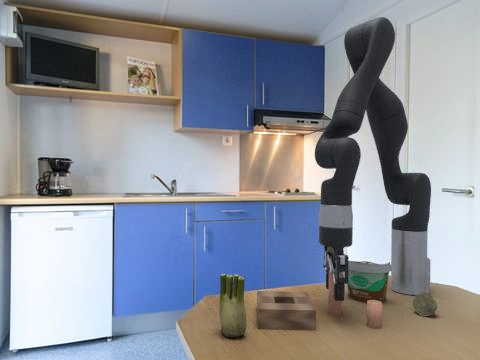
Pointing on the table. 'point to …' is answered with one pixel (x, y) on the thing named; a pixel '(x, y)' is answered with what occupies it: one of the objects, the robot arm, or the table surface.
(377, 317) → the short dowel
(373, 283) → the food container
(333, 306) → the long dowel
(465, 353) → the table surface
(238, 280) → the fennel bulb
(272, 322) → the walnut block
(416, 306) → the lime
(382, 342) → the table surface
